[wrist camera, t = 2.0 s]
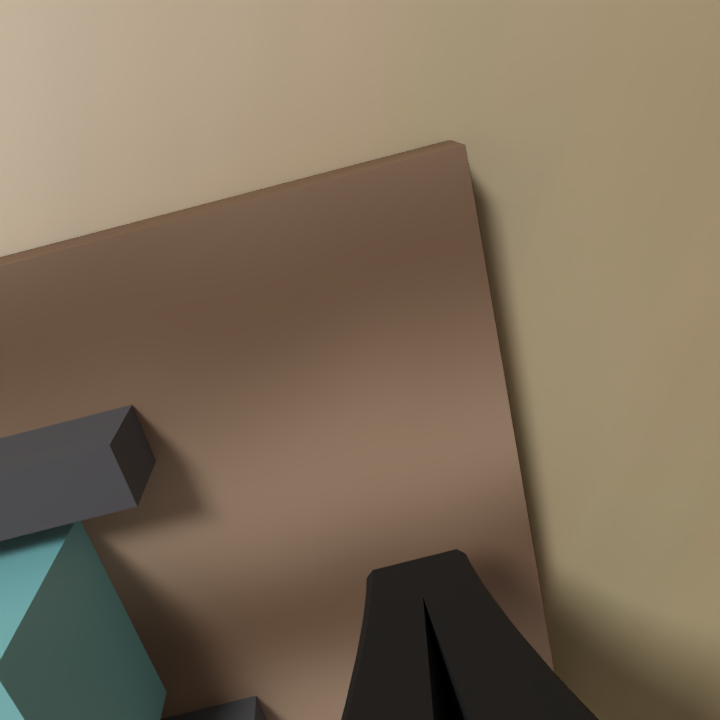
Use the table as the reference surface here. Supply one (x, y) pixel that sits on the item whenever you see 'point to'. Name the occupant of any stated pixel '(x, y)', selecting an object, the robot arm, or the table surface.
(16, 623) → the plug
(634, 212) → the table surface
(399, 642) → the robot arm
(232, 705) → the grey blocks
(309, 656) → the base board
